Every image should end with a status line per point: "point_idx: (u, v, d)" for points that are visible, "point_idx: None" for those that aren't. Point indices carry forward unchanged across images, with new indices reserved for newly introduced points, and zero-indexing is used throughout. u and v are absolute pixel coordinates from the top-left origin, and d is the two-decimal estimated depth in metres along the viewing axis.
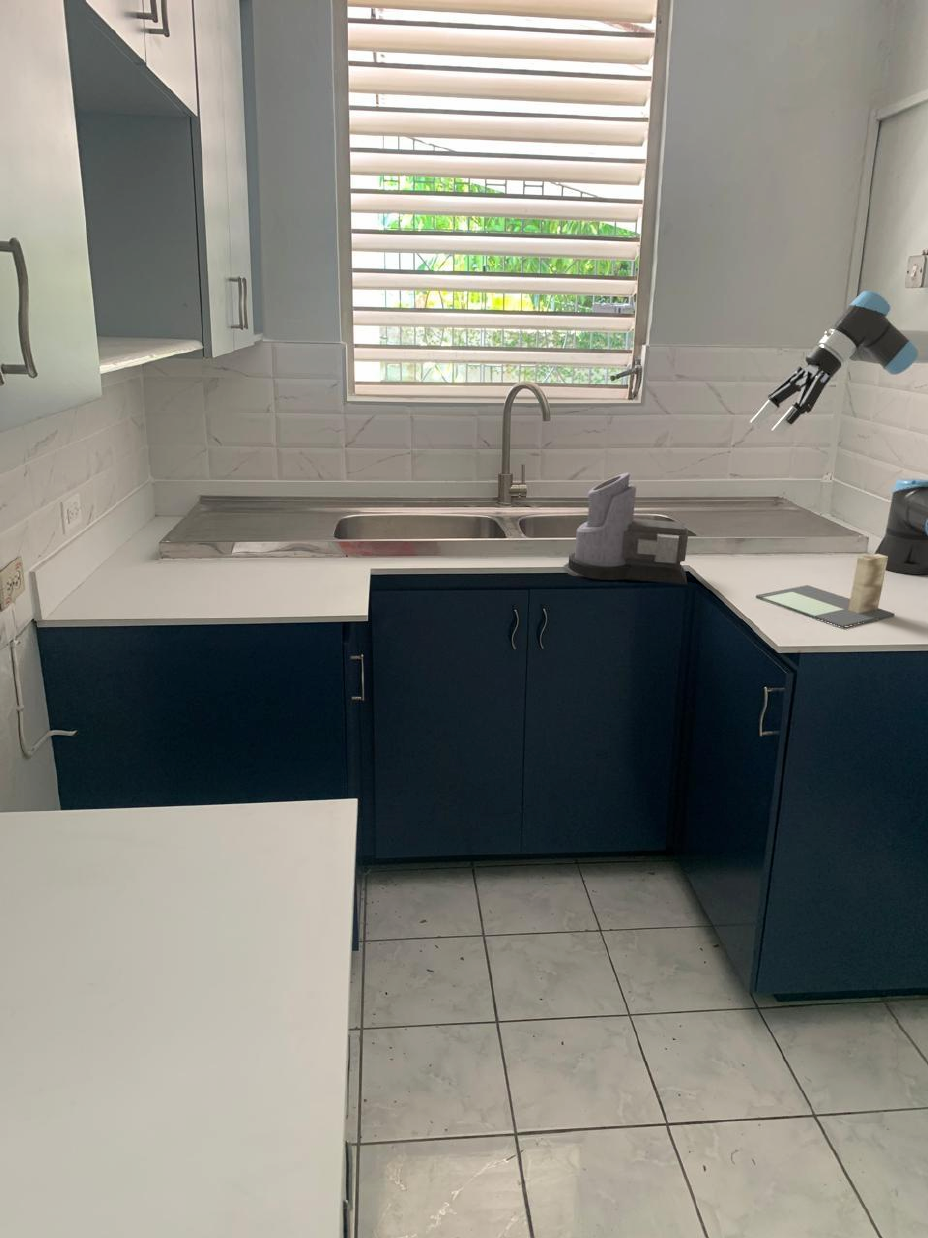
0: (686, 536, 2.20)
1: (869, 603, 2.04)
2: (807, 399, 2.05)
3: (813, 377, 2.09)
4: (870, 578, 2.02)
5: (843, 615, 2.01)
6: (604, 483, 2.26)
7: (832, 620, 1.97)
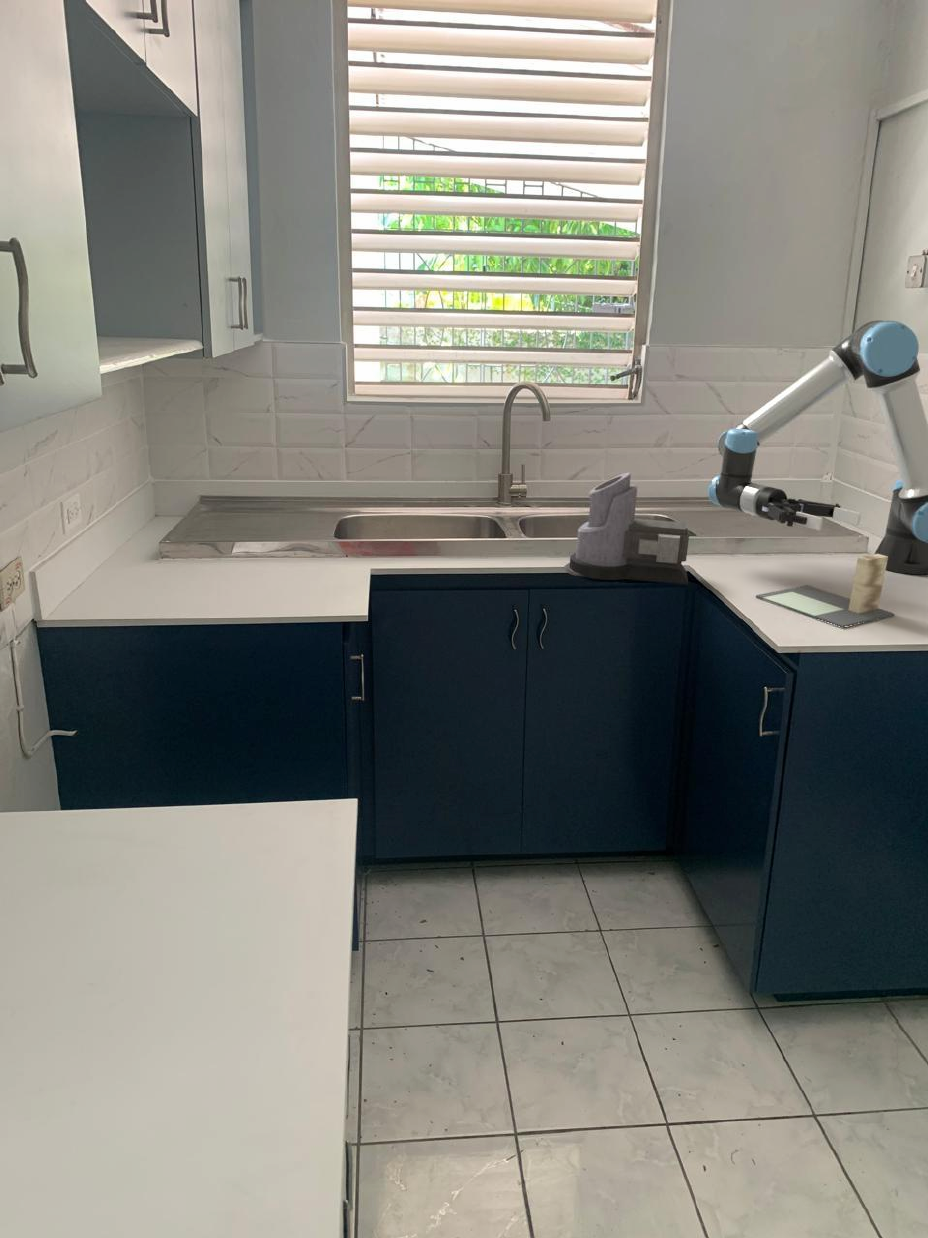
0: (687, 536, 2.20)
1: (869, 603, 2.04)
2: (777, 519, 2.10)
3: None
4: (870, 578, 2.02)
5: (843, 615, 2.01)
6: (605, 483, 2.26)
7: (832, 620, 1.97)
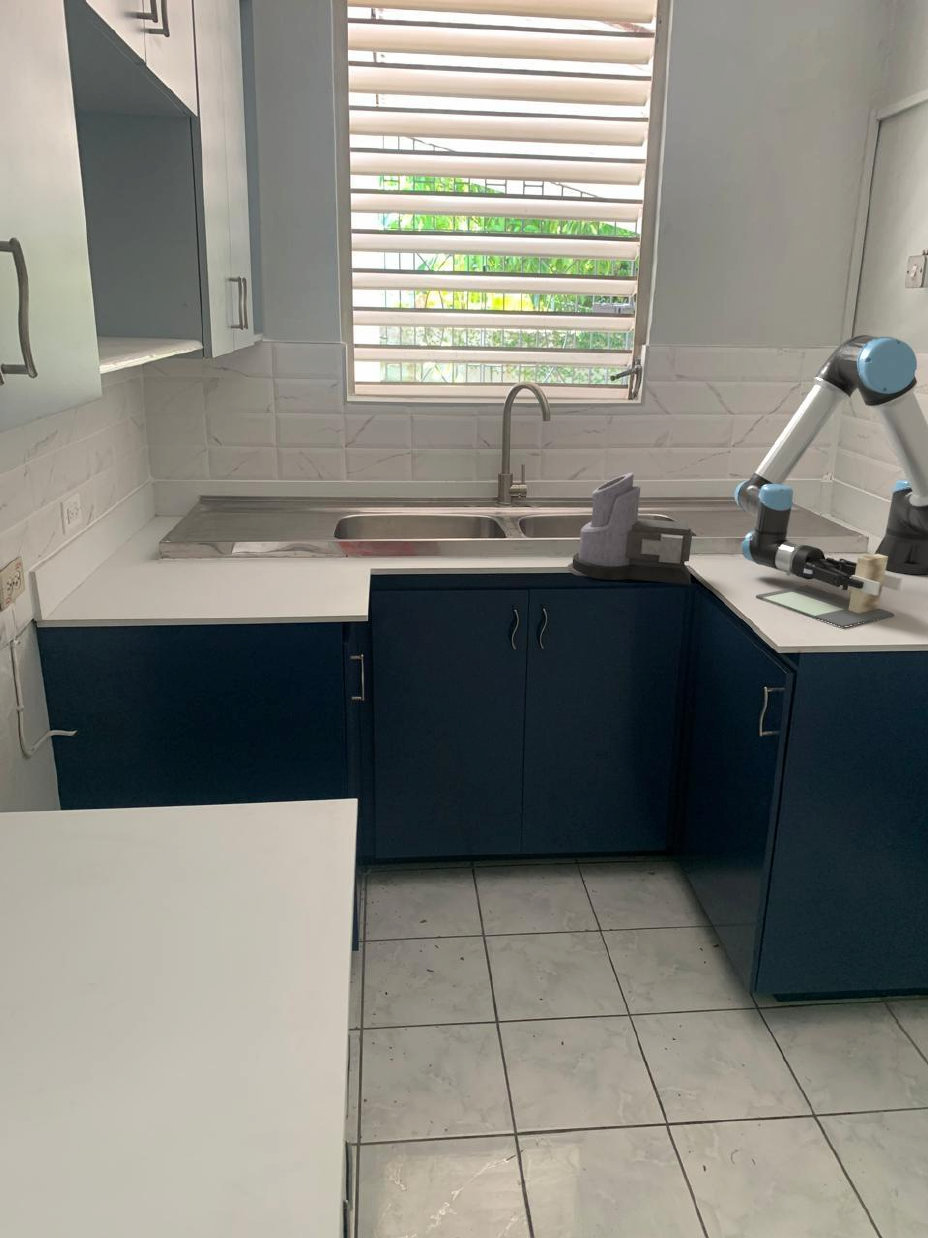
0: (690, 536, 2.20)
1: (869, 603, 2.04)
2: (831, 583, 2.04)
3: None
4: (870, 578, 2.02)
5: (843, 615, 2.01)
6: (608, 483, 2.26)
7: (832, 620, 1.97)
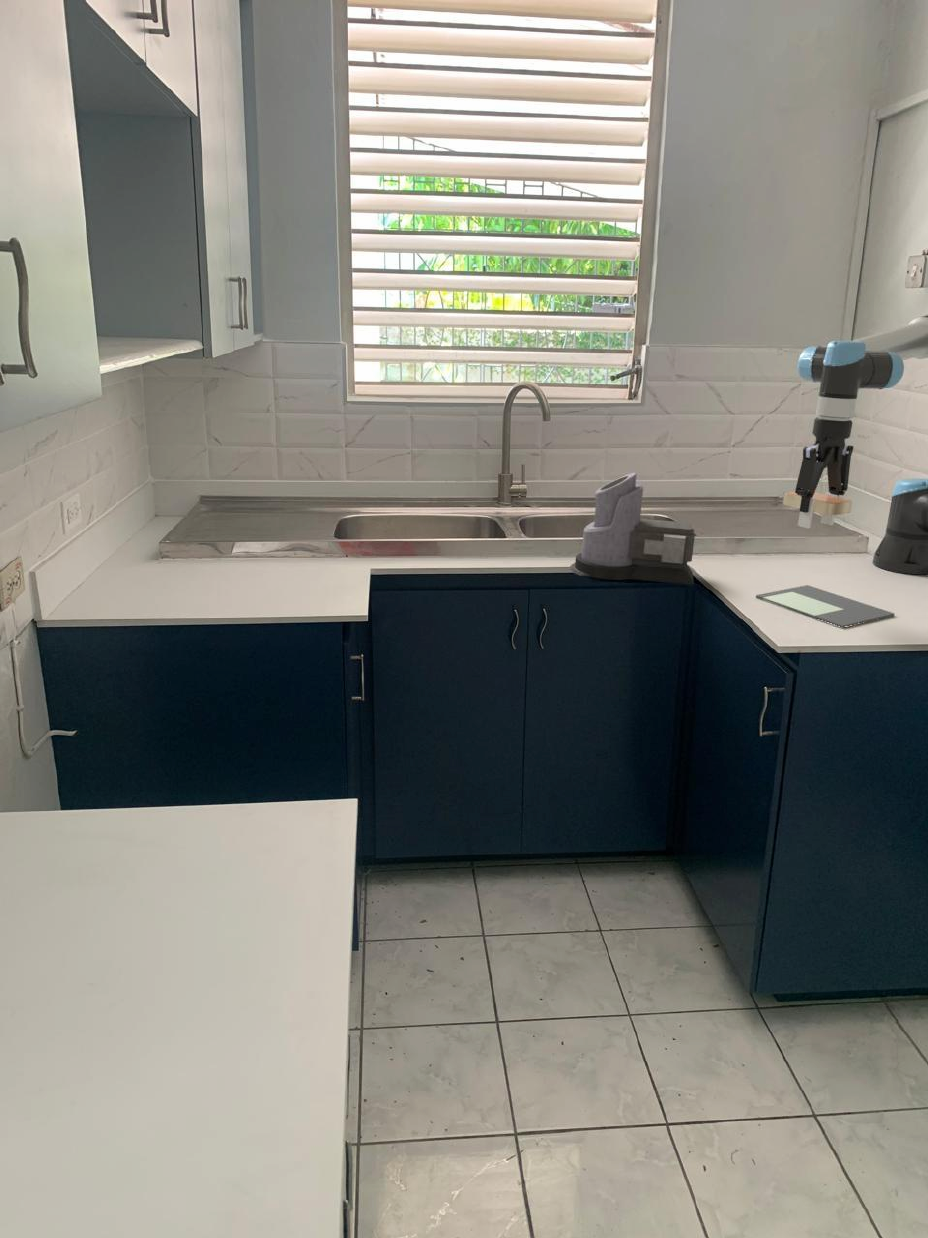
0: (693, 536, 2.20)
1: None
2: (798, 484, 1.96)
3: None
4: None
5: (843, 615, 2.01)
6: (611, 483, 2.26)
7: (832, 620, 1.97)
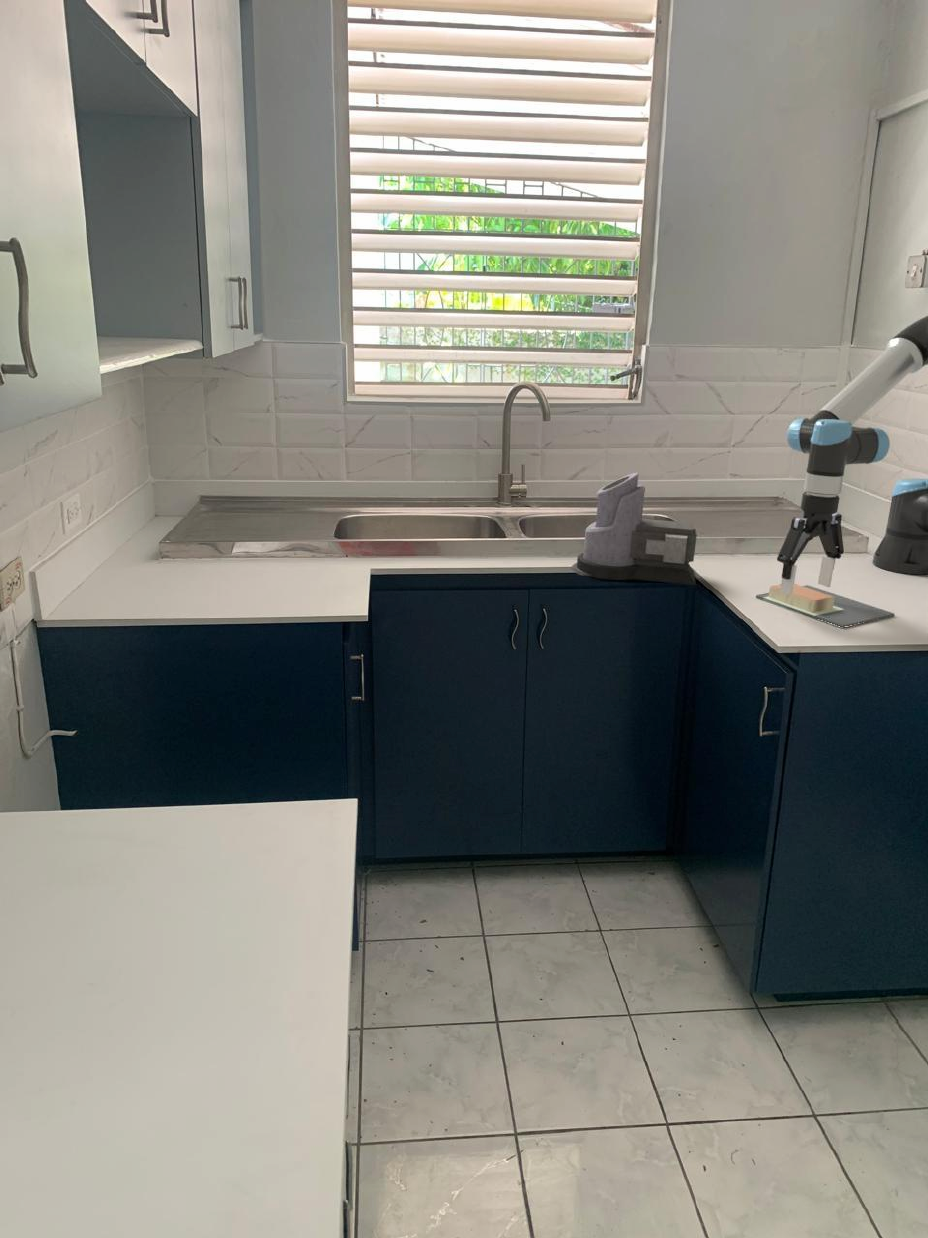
0: (695, 536, 2.20)
1: None
2: (781, 552, 2.00)
3: None
4: None
5: (843, 615, 2.01)
6: (613, 483, 2.26)
7: (832, 620, 1.97)
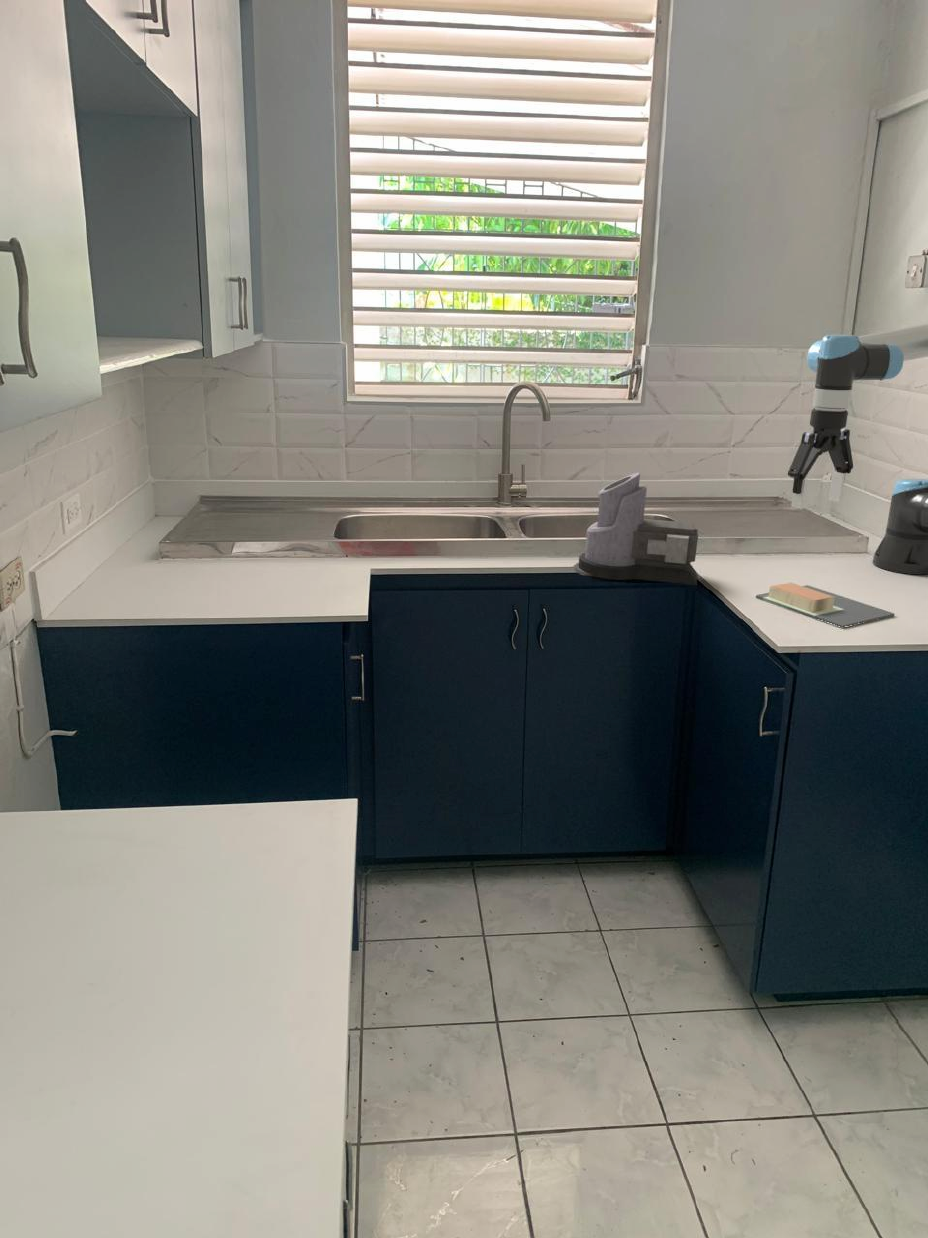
0: (696, 537, 2.20)
1: None
2: (791, 466, 2.03)
3: None
4: None
5: (843, 615, 2.01)
6: (615, 483, 2.27)
7: (832, 620, 1.97)
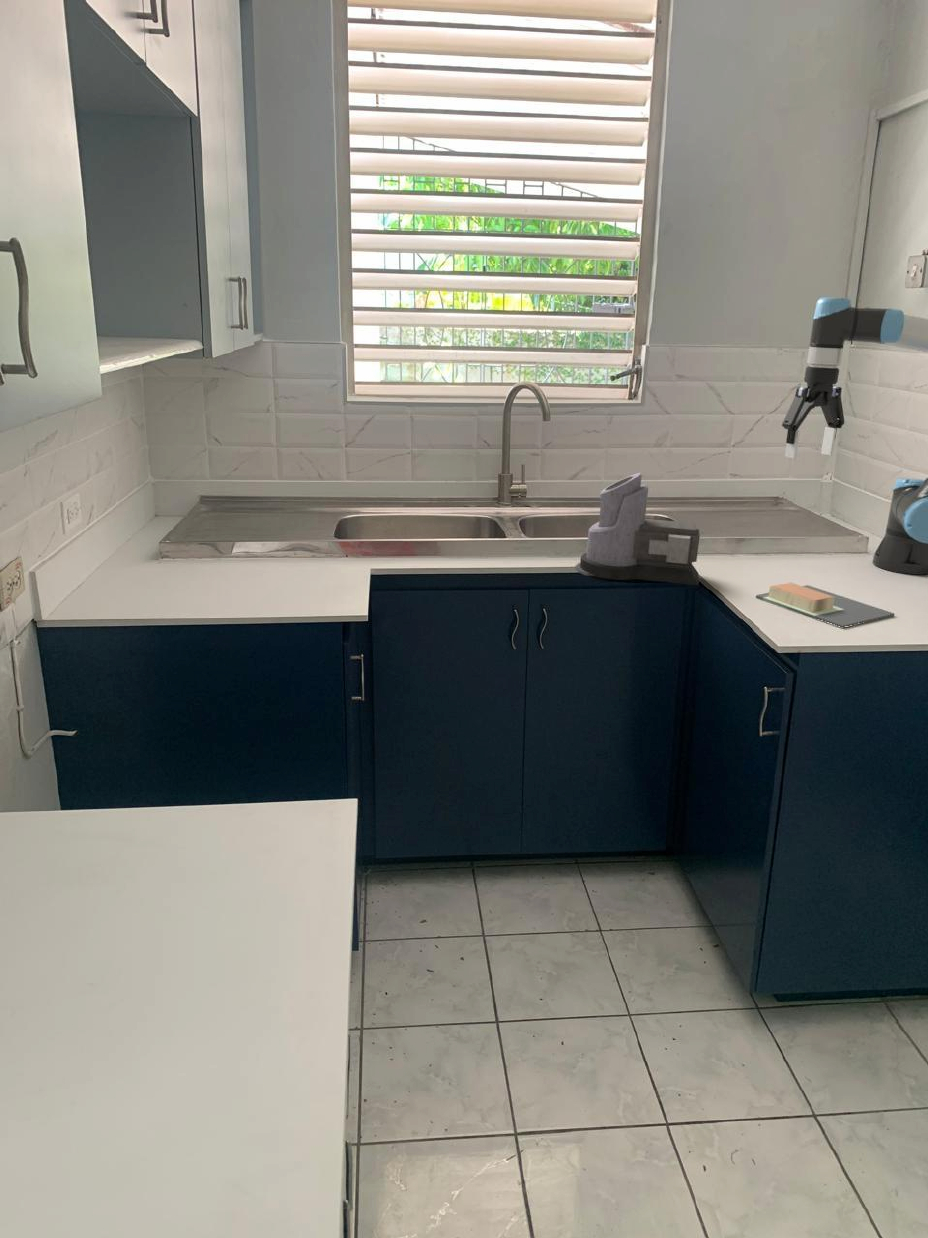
0: (698, 537, 2.20)
1: None
2: (785, 418, 2.21)
3: None
4: None
5: (843, 615, 2.01)
6: (616, 483, 2.27)
7: (832, 620, 1.97)
